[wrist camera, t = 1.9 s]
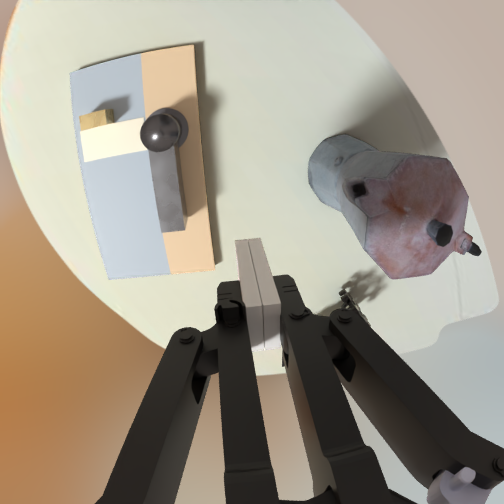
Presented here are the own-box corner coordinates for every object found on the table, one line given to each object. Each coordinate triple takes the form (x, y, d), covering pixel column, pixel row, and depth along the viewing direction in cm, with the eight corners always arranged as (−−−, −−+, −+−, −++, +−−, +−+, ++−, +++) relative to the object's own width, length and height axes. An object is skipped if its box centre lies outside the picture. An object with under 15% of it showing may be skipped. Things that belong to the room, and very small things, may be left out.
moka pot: (297, 111, 30) (400, 122, 12) (406, 155, 33) (528, 211, 15) (272, 190, 34) (334, 291, 16) (381, 221, 37) (479, 311, 19)
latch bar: (146, 116, 27) (138, 117, 24) (180, 111, 27) (176, 111, 24) (161, 222, 32) (155, 234, 29) (192, 218, 32) (190, 230, 29)
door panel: (74, 73, 24) (69, 72, 23) (194, 47, 25) (193, 44, 24) (111, 274, 36) (108, 280, 35) (215, 265, 37) (215, 271, 36)
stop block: (88, 114, 26) (79, 116, 24) (113, 108, 26) (105, 109, 24) (90, 128, 26) (80, 130, 24) (114, 122, 27) (106, 124, 24)
